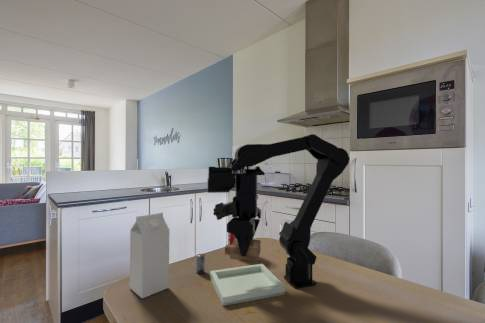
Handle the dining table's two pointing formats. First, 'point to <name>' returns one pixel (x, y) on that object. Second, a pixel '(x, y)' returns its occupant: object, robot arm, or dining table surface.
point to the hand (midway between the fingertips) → (246, 250)
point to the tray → (245, 284)
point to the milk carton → (149, 255)
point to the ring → (251, 253)
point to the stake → (200, 264)
